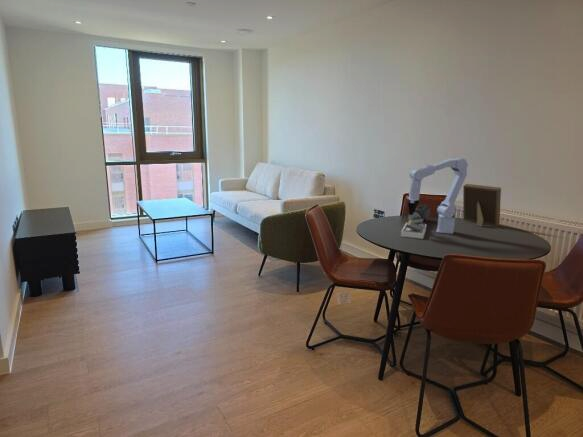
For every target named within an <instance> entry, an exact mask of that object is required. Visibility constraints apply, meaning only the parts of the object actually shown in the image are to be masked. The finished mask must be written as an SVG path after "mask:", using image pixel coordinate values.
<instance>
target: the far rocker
mask: <svg viewBox="0 0 583 437" xmlns="http://www.w3.org/2000/svg"><path fill="white" fill-rule="evenodd" d="M423 221H424V220H423V219H417V220H411V221H409V222H412V223H414V224H417V225H419V224H422V223H423Z"/></svg>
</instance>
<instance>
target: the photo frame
mask: <svg viewBox="0 0 583 437" xmlns="http://www.w3.org/2000/svg"><path fill="white" fill-rule="evenodd" d="M462 188H463V190H462V191H463V197H462V198H463V201H462V202H463V203H462V204H463V207H462V208H463V209H462V210H463V211H462V212H463V215H462V216H463V217H462V221H466V222H472V223H476V222H477V223H476V225H477V226H479V227H482V228H483V225H488V224H489V226H493V225H498V226H499V225H500V222H501V199H502V198H501V196H502V193H501V192H502V187H498V186H491V185H483V184H481V185H480V184H473V183H472V184H471V183H465V184H464V185H462ZM483 223H484V224H483Z"/></svg>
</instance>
